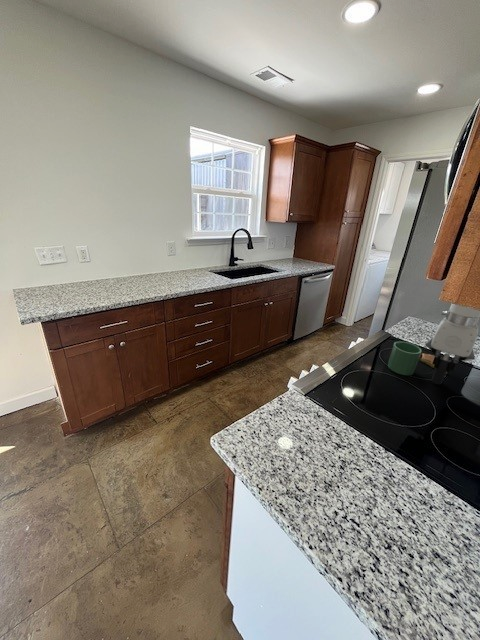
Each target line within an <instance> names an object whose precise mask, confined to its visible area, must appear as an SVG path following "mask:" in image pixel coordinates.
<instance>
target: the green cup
mask: <svg viewBox="0 0 480 640" xmlns="http://www.w3.org/2000/svg"><path fill="white" fill-rule="evenodd" d="M421 355H422V348H421V347H419V346H418V345H416V344H415V343H410V342H408V341H407V342H406V341H395V342H394V343H393V344H392V349H391V352H390V355H389V358H388V362H387V367H388V369H389V370H390V371H392V372H394V373H395V374H399V375H402V376H412V375H414V373H415V372H416V369H417V366H418V363H419V361H420V359H421Z"/></svg>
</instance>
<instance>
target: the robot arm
mask: <svg viewBox="0 0 480 640" xmlns="http://www.w3.org/2000/svg"><path fill="white" fill-rule="evenodd" d="M441 316H444V317H443V319H441V320H440V323H439V324H438V325H437V328H436V331H435V332H434V335H433V337H432V338H431V339H429V340H428V341H426V342H425V344H424V346H425V347H427V348H428V349H429V350H430V351H431V353H432V355H434V356H435V358H434V360H433V363H432V364H434V368H433V369H435V368H436V367H437V365H438V362H439V360H440V358H441V357H442V355H441V353H442V352H443V353H446V354H449V355H454V356H453V357H452V358H451V359H450V361H451V362H450V364H449V367H448V369H447V372H448V373H450V372H451V371H454V369H455V367H456V364H458V363H461V362H464V361H473V360H475V359H476V355H475V353H474V352H475V351H474V346H475V344H476V341H477V338H478V335H479V329H480V327H479V325H478V322H479V320H480V311H478V310H474V309H471V308H466V307H461V306H458V305H455V304H452V303H451V304H450V307H449V309H448V310H442V312H441ZM448 373H447V374H448Z"/></svg>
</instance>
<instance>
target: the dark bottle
mask: <svg viewBox="0 0 480 640" xmlns="http://www.w3.org/2000/svg"><path fill="white" fill-rule="evenodd" d="M450 356H451V354H450V353H446V352H444V354H443V357H442V356H441V357H440V360H439V362H438V365H437V367H436V369H435V368H434V371H433V374H432V377H431V379H430V381H431V382H432V383H433V384H435V385H442V384H443V381H444V379H445V376H446V375H447V374H446V372H447V369H448V367H449V364H450V362H451V359H450Z"/></svg>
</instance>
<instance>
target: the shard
mask: <svg viewBox="0 0 480 640" xmlns="http://www.w3.org/2000/svg"><path fill="white" fill-rule="evenodd" d="M421 355H422V357H420V361H421V362H422V363H425V365H428V366H430V368H433V369H434V370H435V369H436V368H434V364H432V363H433V360H434V358H435V356H434V354H428V353H422V352H421ZM447 374H448V372H446V374H445V375H447Z"/></svg>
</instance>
